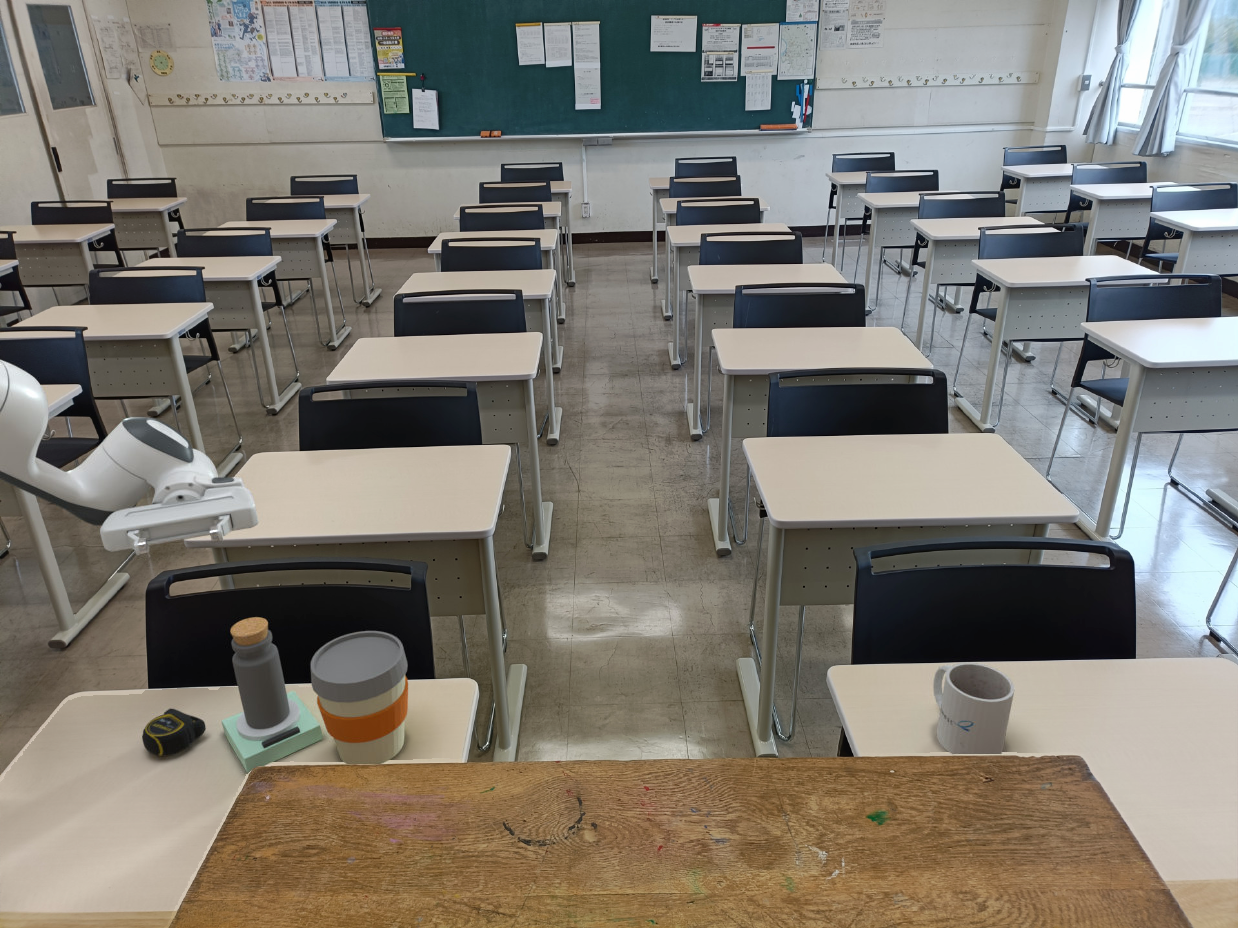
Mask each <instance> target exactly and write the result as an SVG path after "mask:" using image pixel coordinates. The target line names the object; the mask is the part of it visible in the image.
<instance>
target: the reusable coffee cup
mask: <svg viewBox="0 0 1238 928" xmlns="http://www.w3.org/2000/svg"><path fill="white" fill-rule="evenodd" d="M407 672H408V660H407V657H406V653H405V649H404V646H403V643H402V641H401V640H400V639H399V638H398V637H397V636H395V635H393V634H392V633H388V632H384V631H379V630H378V631H377V630H365V631H363V630H362V631H356V632H352V633H347V634H344V635H341V636H339V637H336V638H334V639H332V640H330V641H328V642H326V643H325V644H324V645H323V646H321V647H320V648H319V649H318V650H317V651H316V652H315V653H314V655H313V656H312V658H311V660H310V681H311V688H312V690H313V692H314V693H315V694H316V695H317V697H316V704H317V707H318V711H319V712H320V715H321V718H322V721H323V724H324V726H325V729H326V732H327V733H328V734H329V736H330V737H332V739H333V741H334V744H335V747H336V751H337V753H338V755H339V758H340V760H341V761H342V762H343V763H344V764H346V765H347V764H379V765H382V764H384V763H386V762H388V761H390V760H392V759H393V758H395V757H396V756H397V755H398V754H399V753H400V751H401V750H402V748H403V747H404V744H405V723H406V721H405V719H406V717H407V715H408V710H409V679H408V677H407V676H406V673H407Z"/></svg>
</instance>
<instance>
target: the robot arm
mask: <svg viewBox="0 0 1238 928" xmlns="http://www.w3.org/2000/svg"><path fill="white" fill-rule="evenodd" d="M49 409H50V408H49V402H48V398H47V395H46V392H45V389H44V388H43V386H42V385H41V384H40V382H39V381H38V380H37V379H36V377H34V376H33V375H31V374H30V373H28V372H27V371H26V370H23V368H20V367H19V366H16V365H15V364H12V363H10V362H7V361H5V360H2V359H0V480H1V481H3V482H5V483H7V484H8V485H11V486H13V487H15V488H18V489H20V490H22V491H24V492H26V493H28V494H30V495H33V496H35V497H37V498H39V499H42V500H44V501H46V502H48V503H51V504H53V505H55V506H57V507H58V508H61V509H63V510H65V511H67V512H68V513H70V514H71V515H73V516H74V517H76V518H78V519H79V520H81V521H83V522H85V523H87V524H89V525H92V526H96V527H100V529H99V534H100V538H101V539H100V540H101V542H102V545H103V548H104V549H105V550H106V551H108V552H112V553H113V552H120V551H127V550H134V553H135V555H136V556H141V555H146V554H147V555H148V554H149V553H150V546H154V545H159V544H161V545H162V544H167V543H171V542H177V541H178V542H179V541H182V540H189V539H194V538H201V537H206V536H210V538H211V539H210V540H211V542H212V543H214V542H215V543H216V542H220V541H221V542H222V541H224V537H225V536H227V535H228V534H230V533H232V532H234V531H241V530H245V529H246V530H247V529H252V528H254V527H256V526H257V525H259V518H258V512H257V508H256V502H255V499H254V497H253V493H252V492H251V490H250V489H249V488H247V487H246V485H245V483H244V481H243V478H242V477H239V476H232V477H231V476H227V477H226V476H224V477H223V476H222V477H221V476H219V474H218V471H217V468H216V465H215V464H214V463H213V461H212V459H211V458H210V457H209V456H208V455H206V454H205V453H204V452H203V451H200V450H199V449H196V448H193V447H192V444H191V442H190V440H188V438H186V437H185V436H184V434H182V433H181V432H180V431H178V430H177V429H176V428H174V427H173V426H171V425H170V424H168V423H166V422H164V421H162V420H160V419H157V418H153V417H145V416H132V417H127V418H123V419H122V421H120V423H119V424H118V425H117V426H116V427H115V428H114V429H113V430H112V431H111V432H110V433H109V434H108V435H107V436H106V437H105V438H104V439H103V440H102V442H101V443H100V444H99V445H98V446H97V447H96V448H95V449H94V451H92V452H91V453H90V455H88V456H87V457H86V459H85V460H84V461H82V463H81V464H79V465H78V466H77V467H75V468H73V469H71V470H68V471H64V470H62V469H61V468H58V467H56V466H55V465H53V464H51V463H48V462H46V461H44V460H43V459H40V458H38V457H37V453H38V449H39V446H40V443H41V442H42V438H43V437H44V435H45V433H46V430H47V427H48V423H49V415H50V414H49V413H50V412H49ZM152 488H153V489H154V493H153V497H152V502H151V504H147V505H140V506H137V505H138V503H139V502H140V500H142V499H143V497H145V495H147V493H148V492H149V491H150V490H151V489H152Z"/></svg>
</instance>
